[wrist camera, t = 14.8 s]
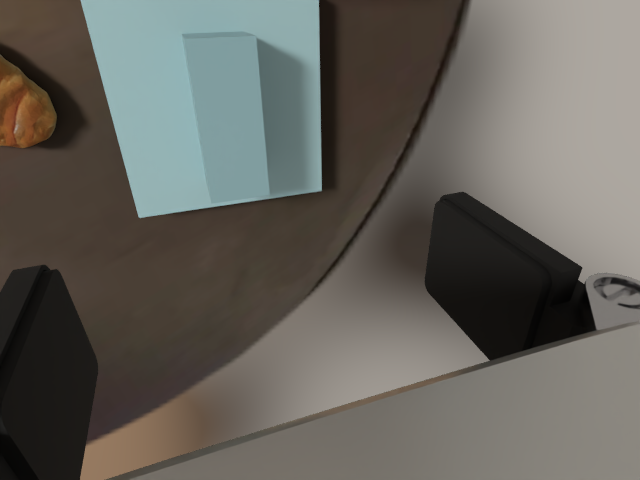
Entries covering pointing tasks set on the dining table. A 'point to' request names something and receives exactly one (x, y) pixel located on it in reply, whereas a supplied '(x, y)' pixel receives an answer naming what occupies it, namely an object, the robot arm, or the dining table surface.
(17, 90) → the pastry
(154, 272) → the dining table surface
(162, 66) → the lid
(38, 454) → the robot arm
